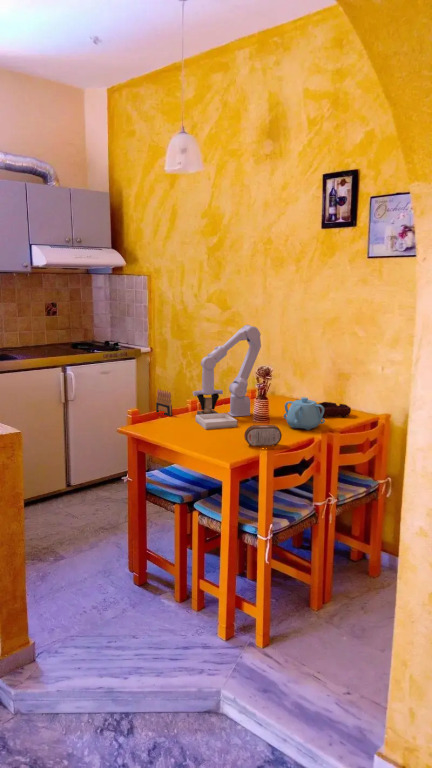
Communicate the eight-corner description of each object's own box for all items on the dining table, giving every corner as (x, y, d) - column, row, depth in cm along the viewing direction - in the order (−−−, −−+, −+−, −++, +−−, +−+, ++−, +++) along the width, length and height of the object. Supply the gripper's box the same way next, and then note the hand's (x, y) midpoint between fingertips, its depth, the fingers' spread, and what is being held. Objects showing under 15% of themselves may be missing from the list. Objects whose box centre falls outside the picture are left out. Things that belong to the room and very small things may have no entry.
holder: (213, 413, 289) (213, 409, 289) (219, 417, 281) (219, 413, 281) (196, 414, 286) (196, 410, 286) (202, 419, 279) (202, 414, 278)
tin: (280, 443, 239) (280, 423, 238) (282, 446, 236) (282, 425, 235) (244, 445, 237) (244, 425, 235) (245, 447, 234) (246, 427, 232)
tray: (225, 419, 279) (225, 412, 278) (237, 426, 265) (237, 420, 264) (195, 421, 274) (195, 415, 274) (205, 429, 260) (205, 422, 260)
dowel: (210, 415, 286) (210, 397, 285) (213, 417, 283) (213, 398, 281) (202, 415, 285) (202, 397, 283) (205, 417, 281) (205, 399, 280)
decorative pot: (281, 423, 273) (282, 394, 270) (314, 421, 275) (315, 393, 273) (291, 432, 257) (292, 402, 254) (326, 431, 259) (327, 401, 257)
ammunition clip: (172, 415, 285) (172, 391, 282) (169, 416, 283) (169, 392, 281) (158, 411, 292) (158, 388, 290) (156, 412, 291) (155, 388, 289)
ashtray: (341, 410, 299) (342, 401, 298) (352, 418, 283) (353, 408, 282) (307, 411, 297) (308, 401, 296) (316, 419, 281) (317, 409, 280)
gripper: (219, 379, 287) (219, 406, 289) (191, 381, 282) (191, 408, 285) (224, 382, 280) (224, 409, 283) (195, 383, 275) (195, 411, 278)
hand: (207, 409), depth 283 cm, fingers open, 5 cm apart
